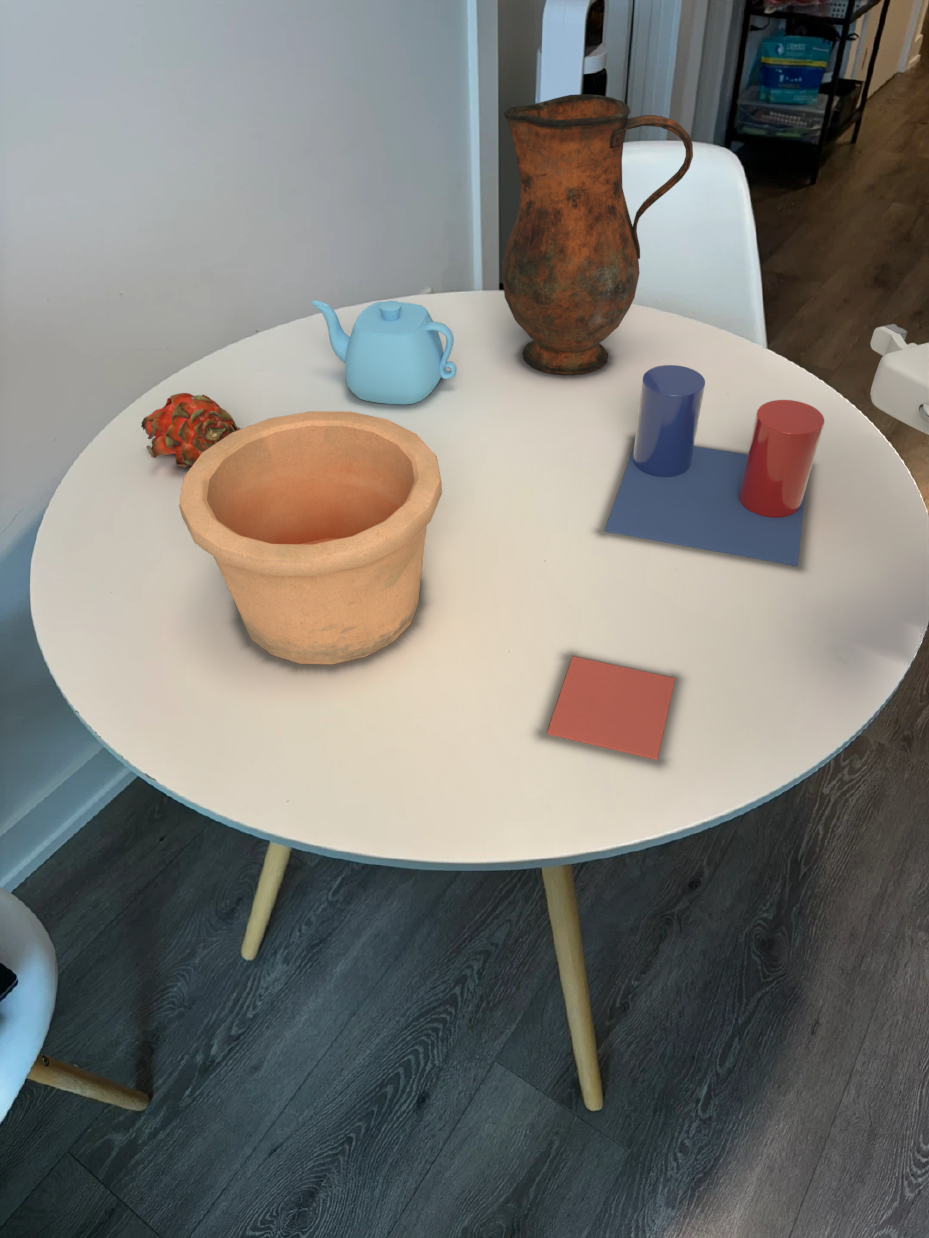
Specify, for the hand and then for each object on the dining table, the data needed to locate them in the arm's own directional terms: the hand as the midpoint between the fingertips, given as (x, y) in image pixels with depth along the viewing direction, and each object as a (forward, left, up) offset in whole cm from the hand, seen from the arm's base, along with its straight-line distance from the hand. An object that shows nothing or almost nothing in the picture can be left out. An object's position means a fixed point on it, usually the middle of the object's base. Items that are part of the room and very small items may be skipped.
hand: (927, 322), depth 71 cm
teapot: (+56, -22, -26) cm, 65 cm away
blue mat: (+14, -9, -26) cm, 30 cm away
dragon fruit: (+71, 0, -26) cm, 75 cm away
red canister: (+8, -10, -25) cm, 28 cm away
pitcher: (+34, -35, -26) cm, 55 cm away
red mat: (+18, +23, -26) cm, 39 cm away
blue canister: (+20, -14, -25) cm, 35 cm away
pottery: (+46, +18, -26) cm, 55 cm away
